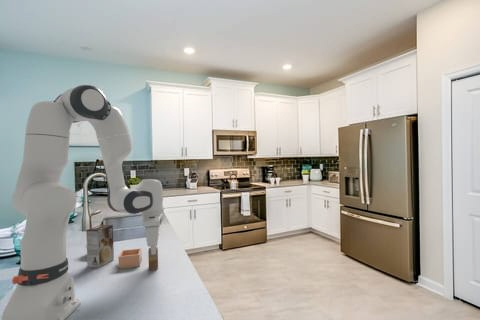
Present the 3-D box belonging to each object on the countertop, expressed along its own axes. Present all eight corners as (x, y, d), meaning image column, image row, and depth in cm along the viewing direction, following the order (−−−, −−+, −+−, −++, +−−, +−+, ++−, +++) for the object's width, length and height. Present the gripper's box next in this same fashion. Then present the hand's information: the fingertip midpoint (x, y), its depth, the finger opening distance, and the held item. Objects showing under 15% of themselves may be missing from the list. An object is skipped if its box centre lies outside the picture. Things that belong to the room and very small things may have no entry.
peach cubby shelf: (139, 266, 110) (139, 254, 110) (118, 268, 108) (118, 256, 108) (141, 259, 118) (141, 248, 118) (122, 261, 116) (122, 250, 116)
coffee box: (102, 258, 119) (101, 224, 119) (114, 259, 118) (113, 224, 118) (86, 267, 110) (85, 229, 110) (99, 268, 109) (98, 230, 109)
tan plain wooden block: (157, 269, 106) (157, 250, 106) (148, 270, 106) (148, 251, 106) (158, 266, 110) (157, 247, 110) (149, 267, 109) (149, 248, 109)
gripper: (147, 212, 117) (148, 242, 117) (142, 223, 97) (144, 260, 98) (161, 211, 119) (162, 241, 119) (160, 222, 99) (161, 257, 99)
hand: (154, 249), depth 108 cm, fingers open, 8 cm apart
